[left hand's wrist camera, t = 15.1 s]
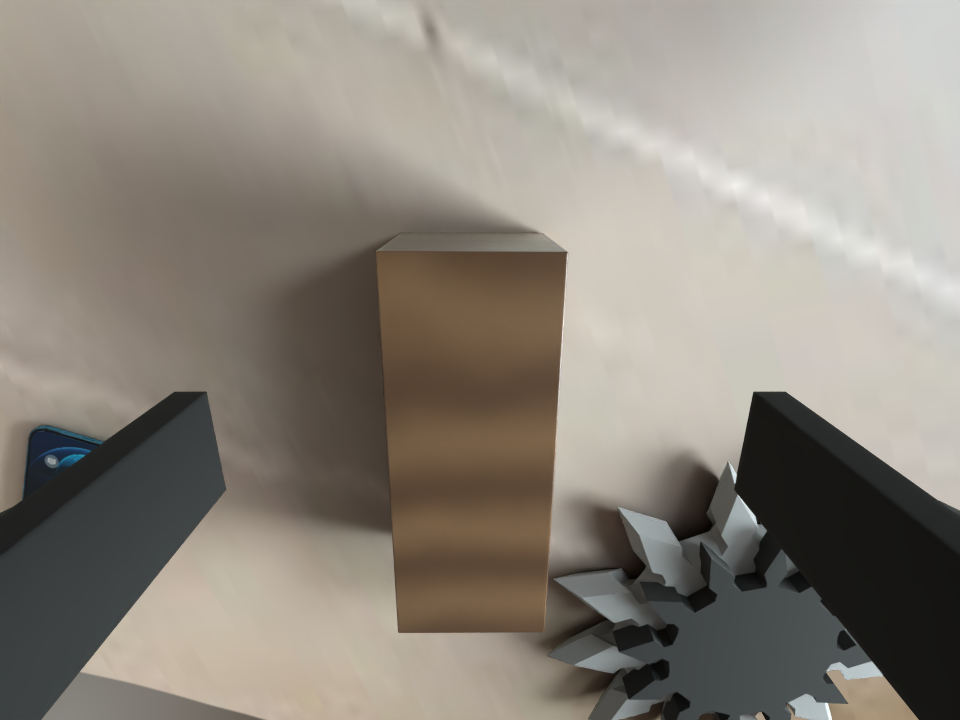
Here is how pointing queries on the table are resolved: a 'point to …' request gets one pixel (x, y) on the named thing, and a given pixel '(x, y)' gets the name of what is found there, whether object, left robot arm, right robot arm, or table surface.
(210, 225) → the table surface
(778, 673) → the decorative piece
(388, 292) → the box
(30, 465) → the smartphone
